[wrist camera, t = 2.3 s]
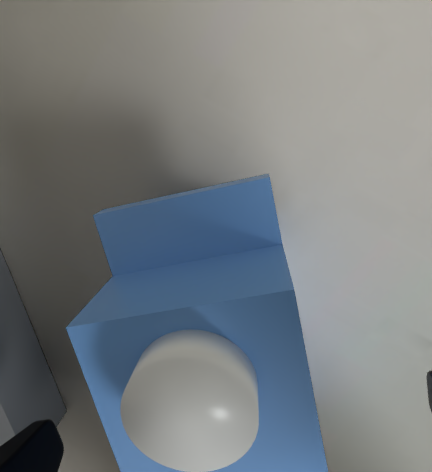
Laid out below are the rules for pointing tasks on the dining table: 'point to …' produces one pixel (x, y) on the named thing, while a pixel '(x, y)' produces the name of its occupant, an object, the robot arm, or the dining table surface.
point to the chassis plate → (22, 367)
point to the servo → (199, 337)
